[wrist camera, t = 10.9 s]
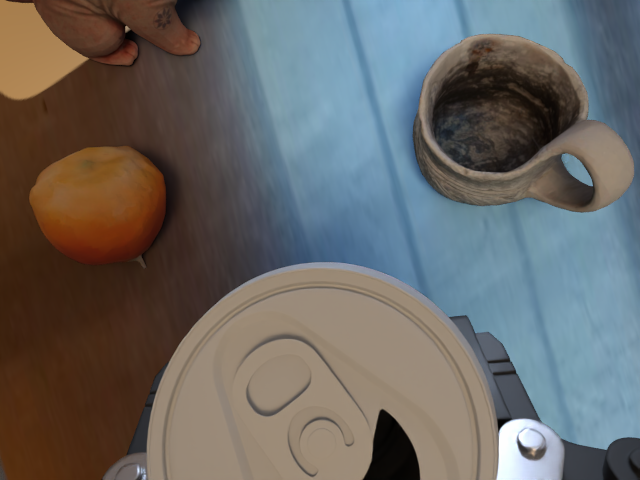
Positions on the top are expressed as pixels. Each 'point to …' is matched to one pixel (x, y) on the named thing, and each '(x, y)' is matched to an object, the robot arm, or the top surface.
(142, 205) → the fruit
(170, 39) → the figurine
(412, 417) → the beverage can
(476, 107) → the mug
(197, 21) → the top surface
